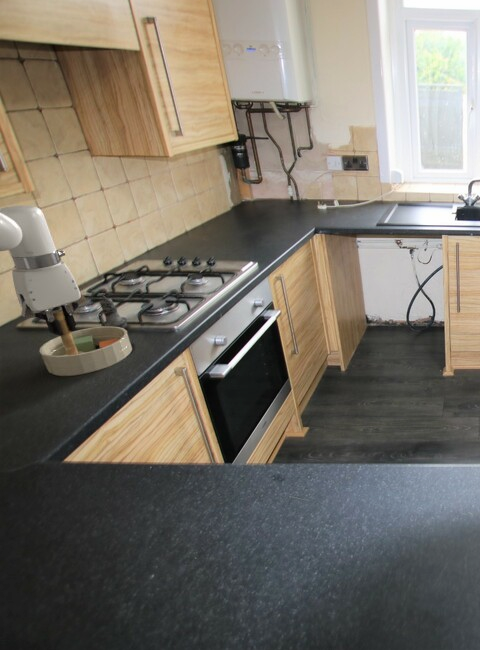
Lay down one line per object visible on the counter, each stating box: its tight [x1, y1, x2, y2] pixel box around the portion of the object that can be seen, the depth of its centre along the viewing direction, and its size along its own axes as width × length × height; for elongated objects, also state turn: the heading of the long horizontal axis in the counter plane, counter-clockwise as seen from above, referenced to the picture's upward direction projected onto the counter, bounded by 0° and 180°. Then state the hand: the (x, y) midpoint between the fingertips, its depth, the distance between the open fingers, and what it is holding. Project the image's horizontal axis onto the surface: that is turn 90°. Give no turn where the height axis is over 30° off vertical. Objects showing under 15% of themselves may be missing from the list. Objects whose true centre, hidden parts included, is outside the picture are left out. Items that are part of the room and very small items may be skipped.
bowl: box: [38, 326, 133, 377], centre depth 123 cm, size 17×17×6 cm
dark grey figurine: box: [99, 295, 128, 329], centre depth 136 cm, size 6×6×12 cm
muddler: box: [52, 309, 84, 356], centre depth 117 cm, size 4×4×14 cm
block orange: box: [98, 338, 119, 349], centre depth 124 cm, size 4×4×4 cm
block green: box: [73, 335, 97, 353], centre depth 125 cm, size 4×4×4 cm
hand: (64, 331), depth 116 cm, fingers closed on muddler, 2 cm apart
